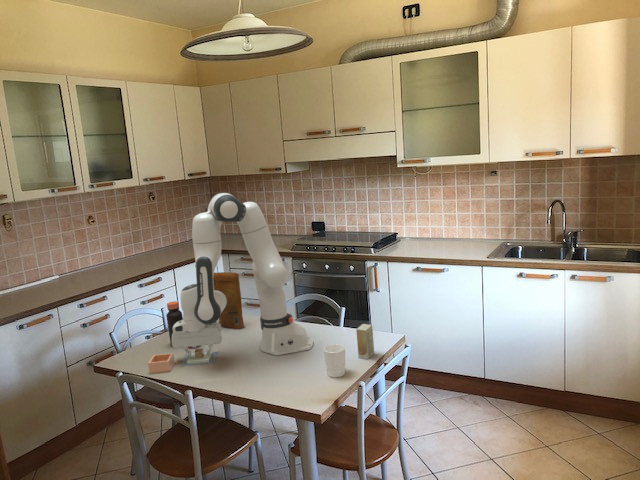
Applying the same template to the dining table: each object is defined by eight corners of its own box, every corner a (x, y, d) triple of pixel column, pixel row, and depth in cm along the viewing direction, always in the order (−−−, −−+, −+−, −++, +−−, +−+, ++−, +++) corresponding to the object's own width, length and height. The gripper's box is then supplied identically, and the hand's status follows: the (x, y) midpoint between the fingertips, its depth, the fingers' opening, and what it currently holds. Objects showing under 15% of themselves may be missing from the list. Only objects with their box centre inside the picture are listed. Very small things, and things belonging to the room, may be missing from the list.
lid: (212, 353, 222) (211, 344, 221) (209, 362, 213) (207, 353, 213) (191, 355, 222) (190, 346, 221) (186, 364, 213) (185, 355, 212)
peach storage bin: (174, 364, 216) (173, 353, 215) (170, 373, 208) (168, 361, 207) (155, 366, 215) (153, 355, 214) (150, 374, 207) (148, 363, 206)
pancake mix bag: (241, 331, 247) (234, 274, 241) (210, 327, 256) (203, 271, 251) (250, 326, 252) (243, 270, 247) (220, 322, 262) (213, 268, 257)
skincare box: (365, 351, 212) (362, 323, 209) (374, 353, 210) (372, 324, 207) (357, 358, 206) (355, 328, 204) (367, 359, 204) (365, 330, 202)
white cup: (334, 367, 200) (332, 342, 198) (351, 371, 195) (349, 346, 193) (321, 375, 194) (319, 350, 192) (338, 380, 189) (336, 354, 187)
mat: (219, 352, 224) (218, 351, 224) (214, 364, 212) (214, 363, 212) (186, 355, 223) (185, 354, 223) (180, 367, 212) (179, 366, 212)
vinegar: (187, 346, 234) (181, 303, 231) (172, 349, 232) (166, 306, 228) (184, 341, 240) (178, 299, 237) (169, 344, 238) (163, 302, 234)
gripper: (221, 318, 218) (225, 349, 221) (171, 323, 217) (176, 354, 220) (219, 323, 212) (223, 355, 214) (168, 328, 211) (173, 360, 214)
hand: (199, 355), depth 217 cm, fingers open, 7 cm apart
